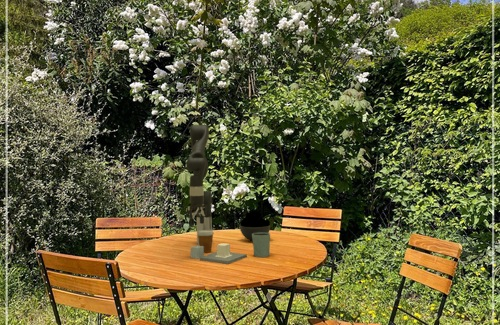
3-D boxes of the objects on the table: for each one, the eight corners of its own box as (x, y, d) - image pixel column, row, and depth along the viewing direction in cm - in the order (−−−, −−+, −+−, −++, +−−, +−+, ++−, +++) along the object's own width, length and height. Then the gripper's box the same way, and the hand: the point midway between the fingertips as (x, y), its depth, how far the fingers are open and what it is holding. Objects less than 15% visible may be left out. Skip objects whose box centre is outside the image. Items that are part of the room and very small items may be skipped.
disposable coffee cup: (216, 250, 253) (216, 230, 253) (209, 254, 244) (209, 232, 244) (201, 249, 256) (201, 229, 256) (194, 253, 247) (194, 232, 247)
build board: (219, 253, 245) (219, 250, 245) (246, 257, 235) (246, 254, 235) (199, 260, 230) (199, 257, 230) (227, 264, 220) (227, 261, 220)
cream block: (222, 254, 236) (222, 243, 236) (230, 255, 233) (229, 244, 233) (217, 256, 232) (216, 244, 232) (224, 257, 229) (224, 245, 229)
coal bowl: (263, 236, 295) (263, 209, 294) (275, 242, 276) (275, 212, 276) (235, 239, 288) (235, 210, 287) (245, 244, 269) (245, 214, 269)
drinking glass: (264, 258, 232) (264, 236, 232) (248, 256, 237) (248, 234, 237) (273, 254, 240) (273, 233, 240) (258, 252, 246) (257, 231, 246)
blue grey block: (196, 256, 239) (196, 245, 239) (203, 257, 236) (203, 246, 236) (190, 258, 235) (190, 247, 235) (197, 259, 232) (197, 248, 232)
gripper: (193, 196, 227) (194, 227, 227) (210, 193, 239) (210, 223, 240) (182, 195, 231) (183, 225, 231) (199, 193, 243) (199, 222, 244)
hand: (197, 224), depth 236 cm, fingers open, 8 cm apart
